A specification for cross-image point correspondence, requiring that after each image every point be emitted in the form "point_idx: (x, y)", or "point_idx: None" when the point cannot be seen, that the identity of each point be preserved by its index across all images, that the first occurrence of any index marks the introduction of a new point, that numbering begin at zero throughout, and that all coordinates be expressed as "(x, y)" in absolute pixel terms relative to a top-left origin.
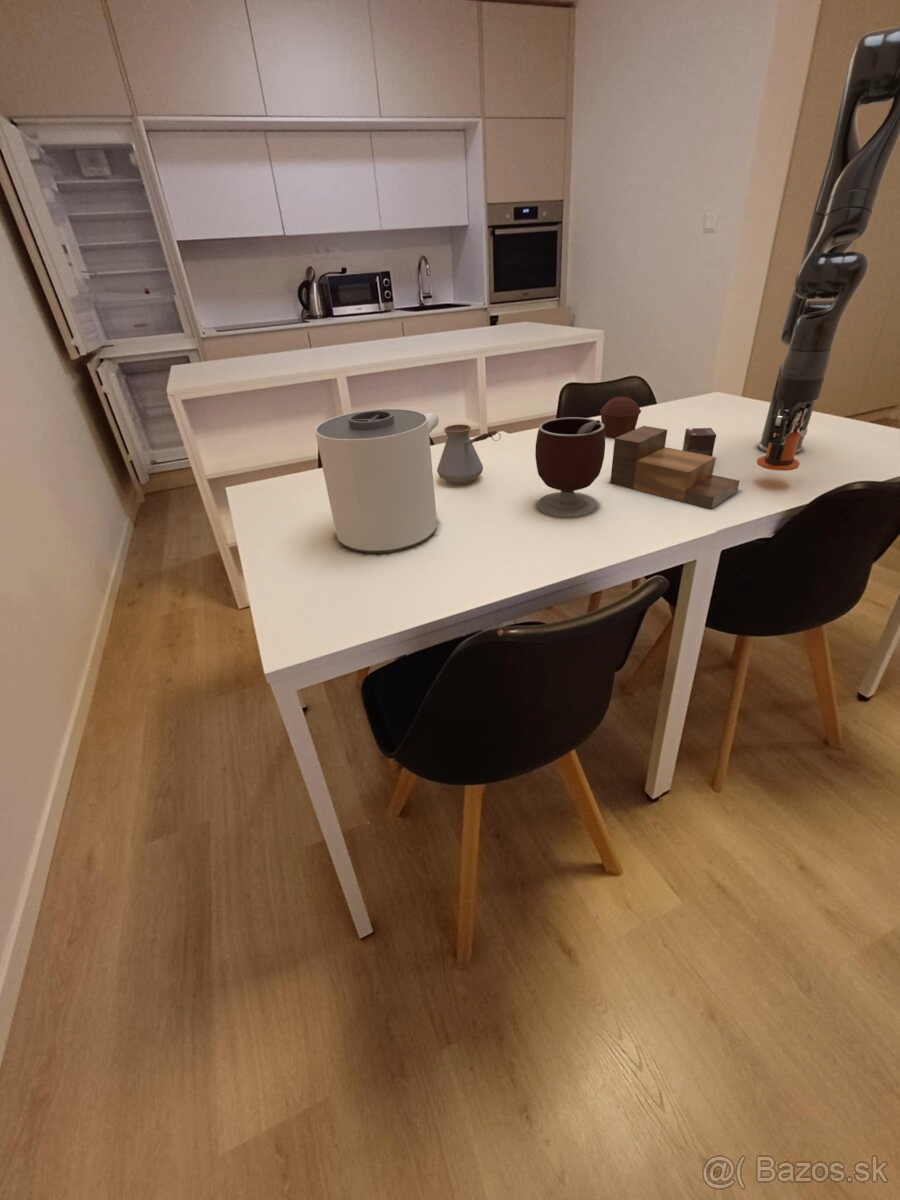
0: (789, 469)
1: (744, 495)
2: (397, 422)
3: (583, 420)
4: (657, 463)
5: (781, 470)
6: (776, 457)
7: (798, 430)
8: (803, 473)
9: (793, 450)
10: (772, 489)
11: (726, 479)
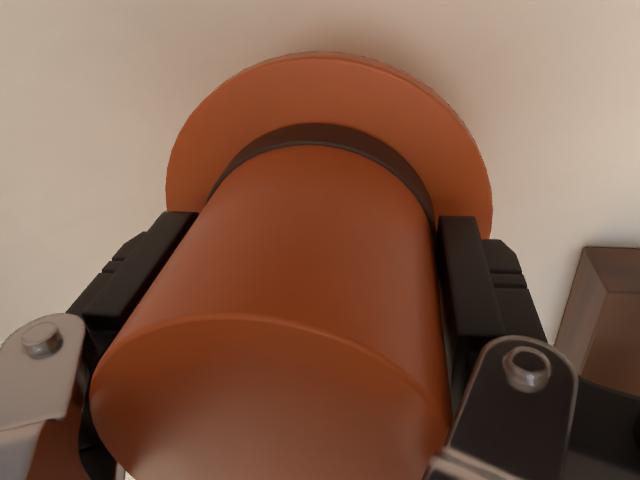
0: (428, 88)
1: (633, 196)
2: None
3: None
4: None
5: (471, 137)
6: (515, 262)
7: (21, 382)
8: (32, 72)
9: (333, 199)
10: None
11: (623, 349)
